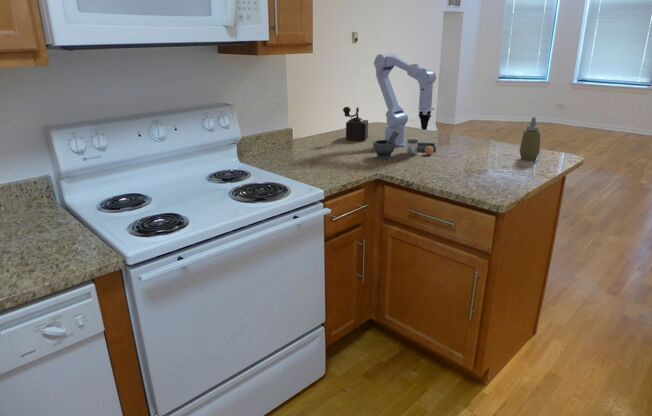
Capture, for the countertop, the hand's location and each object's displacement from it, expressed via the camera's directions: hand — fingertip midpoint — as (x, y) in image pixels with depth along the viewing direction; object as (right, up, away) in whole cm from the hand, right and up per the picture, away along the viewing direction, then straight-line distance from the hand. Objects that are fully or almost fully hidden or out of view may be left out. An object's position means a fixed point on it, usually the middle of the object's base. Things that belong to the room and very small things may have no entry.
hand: (424, 127), depth 219 cm
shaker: (-7, -13, -5) cm, 16 cm away
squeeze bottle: (+41, -17, -17) cm, 48 cm away
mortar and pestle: (-19, -15, -8) cm, 26 cm away
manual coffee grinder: (-30, -2, +28) cm, 41 cm away
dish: (+1, -10, +4) cm, 10 cm away
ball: (+1, -13, -6) cm, 15 cm away
